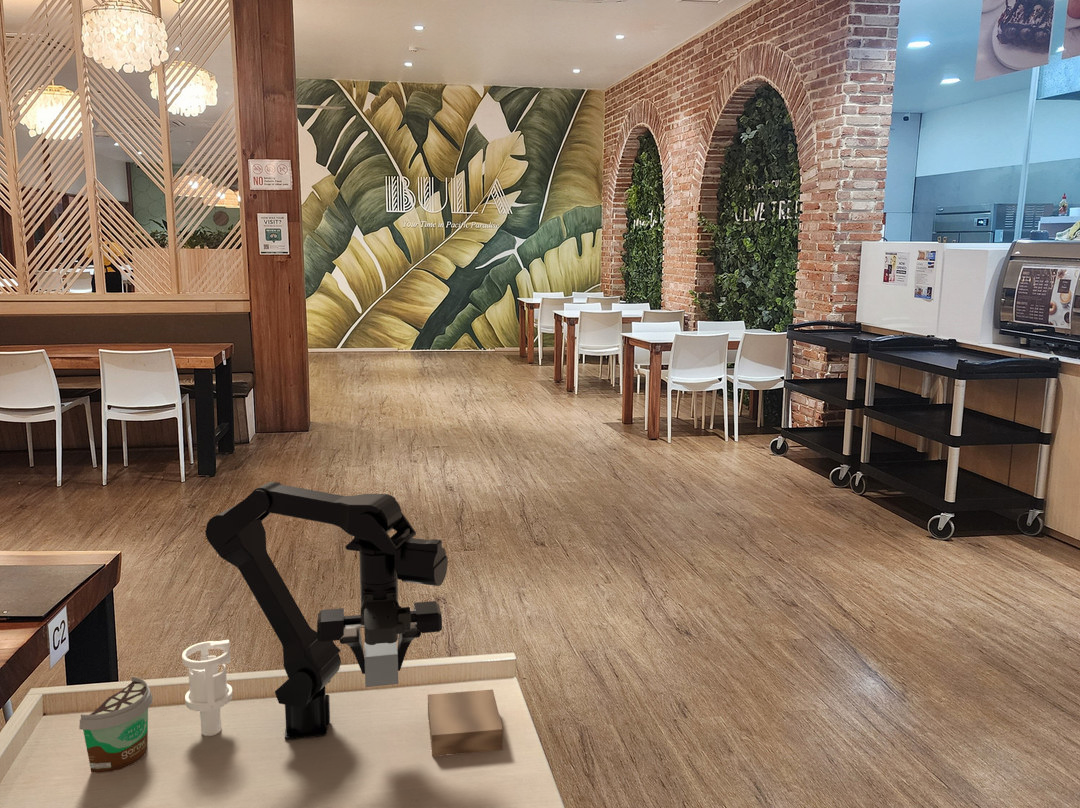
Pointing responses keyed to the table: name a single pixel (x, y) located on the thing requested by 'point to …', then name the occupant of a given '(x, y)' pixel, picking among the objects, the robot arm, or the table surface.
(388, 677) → the slate cube
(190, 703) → the strainer
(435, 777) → the table surface
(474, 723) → the block
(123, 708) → the food container
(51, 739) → the table surface
